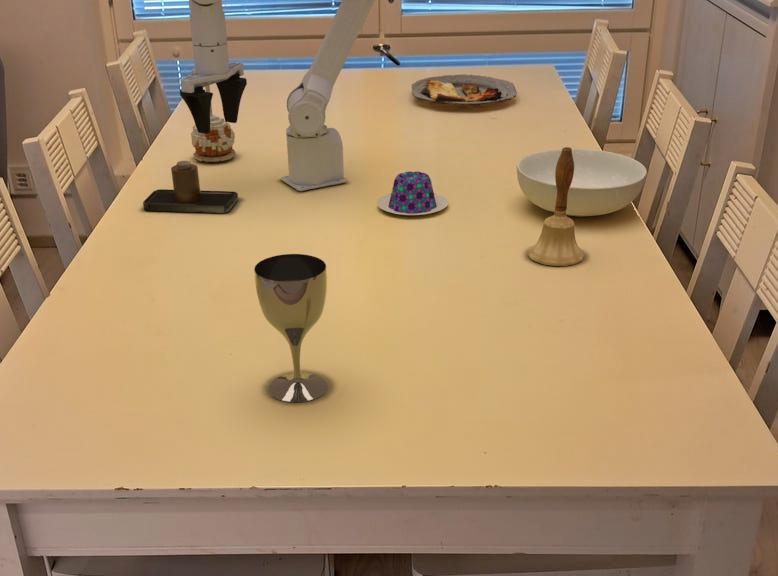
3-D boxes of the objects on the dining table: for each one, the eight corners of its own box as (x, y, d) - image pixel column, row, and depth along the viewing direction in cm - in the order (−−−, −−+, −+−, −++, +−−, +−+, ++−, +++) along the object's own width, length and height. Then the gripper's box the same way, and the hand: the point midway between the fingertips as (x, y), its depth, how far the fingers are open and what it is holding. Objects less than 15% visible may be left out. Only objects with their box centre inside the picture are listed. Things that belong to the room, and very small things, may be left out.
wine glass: (264, 373, 124) (254, 255, 116) (329, 370, 125) (324, 252, 116) (264, 406, 118) (253, 283, 109) (333, 402, 118) (328, 279, 110)
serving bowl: (564, 239, 159) (568, 195, 155) (490, 200, 174) (492, 159, 170) (668, 215, 166) (674, 173, 163) (588, 180, 182) (592, 141, 178)
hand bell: (587, 248, 155) (599, 142, 146) (578, 269, 149) (590, 158, 140) (533, 243, 158) (541, 137, 149) (522, 263, 151) (530, 154, 142)
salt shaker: (196, 198, 177) (191, 157, 173) (205, 205, 174) (200, 163, 170) (172, 202, 176) (166, 161, 172) (181, 210, 172) (175, 168, 168)
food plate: (520, 112, 221) (522, 95, 219) (413, 114, 221) (413, 97, 219) (509, 84, 241) (510, 68, 239) (410, 86, 242) (410, 70, 240)
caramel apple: (209, 167, 193) (200, 83, 184) (186, 158, 198) (177, 76, 189) (243, 158, 197) (235, 76, 188) (220, 150, 202) (212, 69, 193)
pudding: (362, 208, 172) (361, 177, 169) (408, 190, 179) (409, 160, 176) (416, 224, 165) (416, 192, 162) (462, 205, 172) (463, 174, 169)
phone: (155, 189, 179) (239, 191, 177) (156, 195, 179) (239, 197, 177) (140, 204, 172) (227, 206, 170) (141, 210, 173) (227, 213, 171)
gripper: (217, 33, 176) (225, 114, 184) (162, 49, 166) (172, 134, 174) (250, 37, 173) (256, 119, 181) (196, 53, 163) (205, 140, 171)
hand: (217, 127), depth 177 cm, fingers open, 7 cm apart
